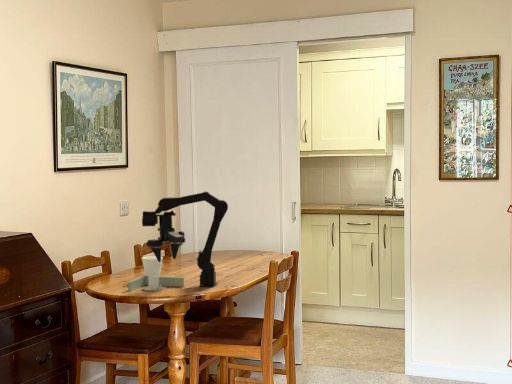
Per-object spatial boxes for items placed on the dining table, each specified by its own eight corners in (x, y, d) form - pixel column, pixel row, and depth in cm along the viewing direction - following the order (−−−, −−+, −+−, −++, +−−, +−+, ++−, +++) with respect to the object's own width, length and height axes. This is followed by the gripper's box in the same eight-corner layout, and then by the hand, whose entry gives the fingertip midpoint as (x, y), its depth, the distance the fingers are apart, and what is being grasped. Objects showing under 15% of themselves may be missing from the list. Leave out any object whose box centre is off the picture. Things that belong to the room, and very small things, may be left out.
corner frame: (184, 286, 303) (184, 277, 303) (170, 293, 288) (170, 284, 287) (143, 284, 308) (143, 275, 308) (128, 291, 293) (128, 281, 292)
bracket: (149, 287, 299) (149, 276, 299) (160, 287, 298) (159, 276, 298) (143, 289, 294) (143, 278, 293) (154, 290, 292) (154, 279, 292)
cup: (147, 283, 309) (147, 260, 309) (138, 280, 317) (137, 257, 317) (167, 281, 315) (166, 258, 315) (157, 278, 323) (156, 255, 323)
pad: (167, 286, 302) (167, 285, 302) (157, 291, 292) (157, 290, 292) (150, 285, 305) (150, 285, 305) (140, 290, 294) (140, 289, 294)
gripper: (163, 228, 290) (164, 264, 291) (193, 224, 305) (194, 258, 305) (145, 227, 297) (146, 262, 298) (175, 223, 311) (176, 257, 312)
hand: (166, 260), depth 303 cm, fingers open, 9 cm apart
